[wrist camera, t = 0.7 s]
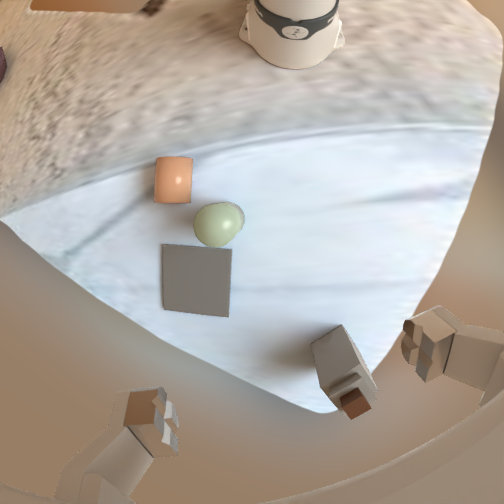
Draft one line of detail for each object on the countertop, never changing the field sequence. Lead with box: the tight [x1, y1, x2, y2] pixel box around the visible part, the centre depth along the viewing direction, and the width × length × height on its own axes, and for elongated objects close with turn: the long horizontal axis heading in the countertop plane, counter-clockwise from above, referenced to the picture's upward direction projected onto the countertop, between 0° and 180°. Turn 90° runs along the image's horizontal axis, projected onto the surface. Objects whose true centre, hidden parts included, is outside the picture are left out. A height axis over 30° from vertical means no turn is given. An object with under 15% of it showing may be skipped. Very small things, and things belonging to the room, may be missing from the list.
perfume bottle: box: [311, 325, 378, 419], centre depth 43 cm, size 7×7×18 cm
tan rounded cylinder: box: [154, 157, 193, 203], centre depth 45 cm, size 7×6×6 cm
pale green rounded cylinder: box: [194, 202, 245, 247], centre depth 43 cm, size 6×6×11 cm
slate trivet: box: [163, 244, 232, 317], centre depth 50 cm, size 12×12×1 cm
